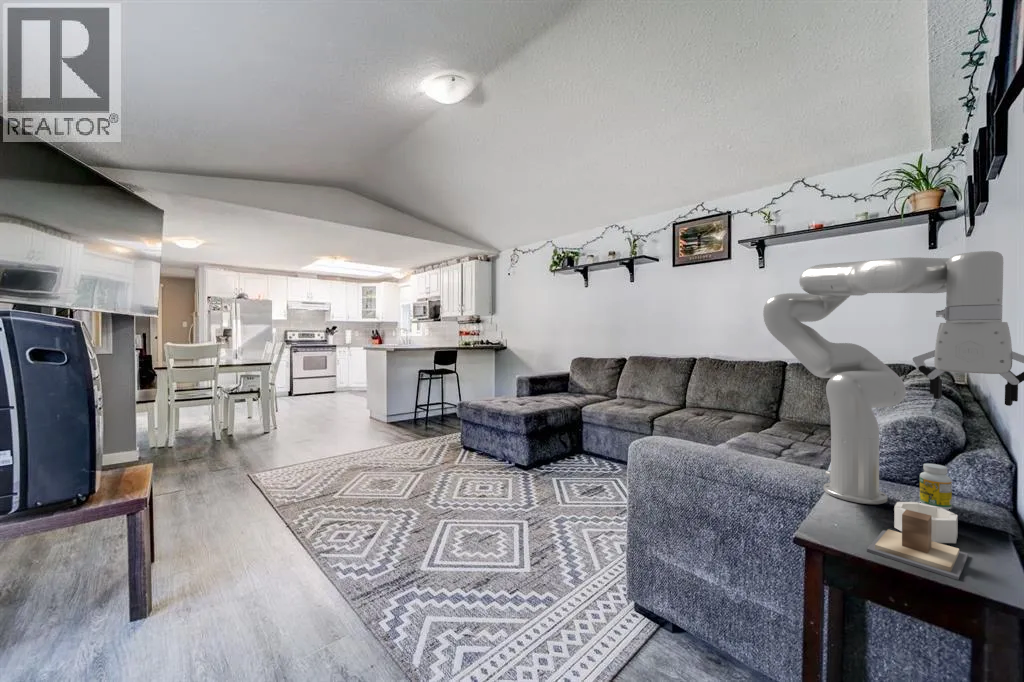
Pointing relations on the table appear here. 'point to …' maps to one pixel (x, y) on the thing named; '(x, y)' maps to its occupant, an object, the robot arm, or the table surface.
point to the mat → (954, 572)
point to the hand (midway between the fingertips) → (971, 401)
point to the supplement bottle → (936, 486)
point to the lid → (918, 542)
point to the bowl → (941, 520)
